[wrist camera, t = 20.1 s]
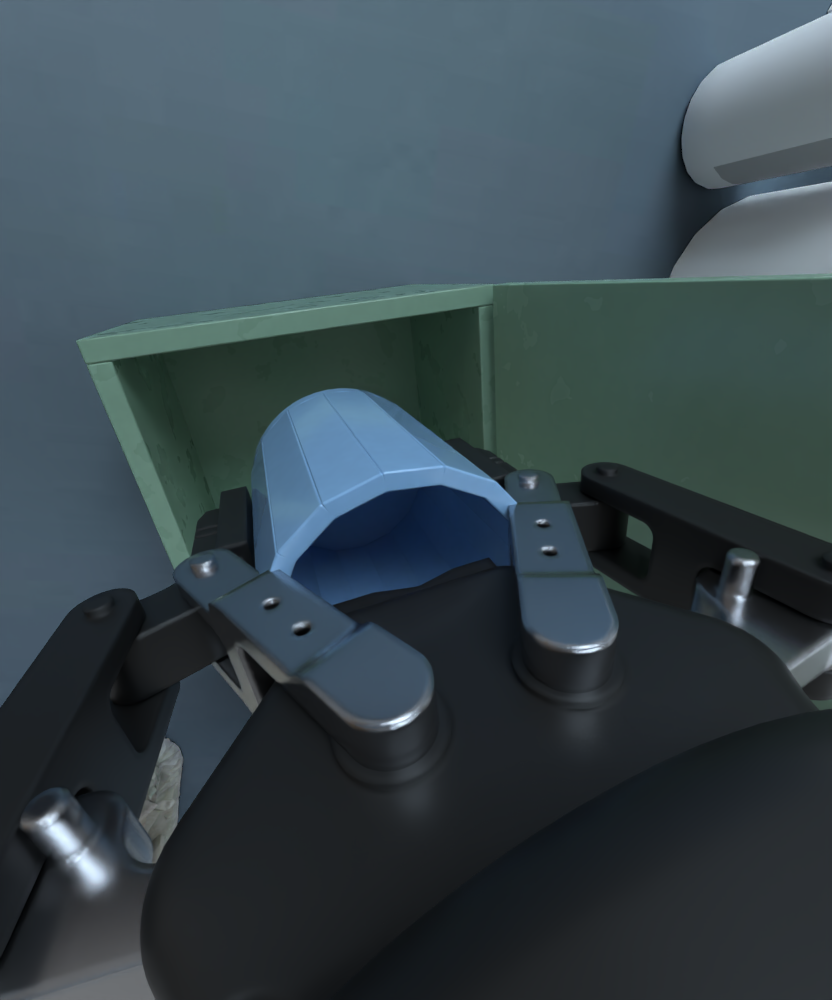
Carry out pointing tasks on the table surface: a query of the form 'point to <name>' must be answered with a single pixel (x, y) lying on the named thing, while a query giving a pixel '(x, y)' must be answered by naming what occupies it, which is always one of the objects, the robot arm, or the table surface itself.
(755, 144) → the spray bottle
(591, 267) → the table surface
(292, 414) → the cup
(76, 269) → the table surface
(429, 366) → the green box
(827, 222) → the canister
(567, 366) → the lid
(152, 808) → the ceramic cottage
